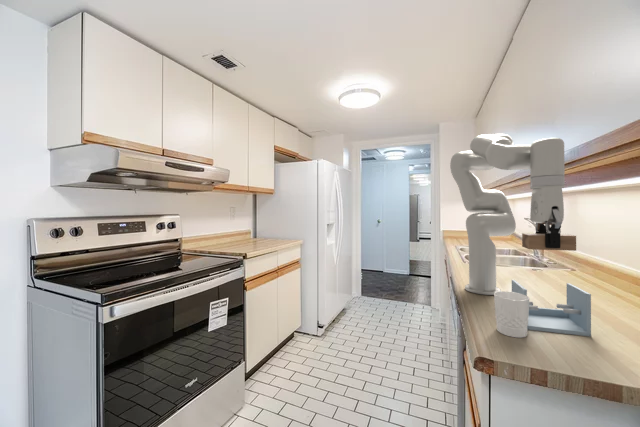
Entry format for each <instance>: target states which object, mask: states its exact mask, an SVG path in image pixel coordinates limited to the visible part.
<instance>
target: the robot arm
mask: <svg viewBox="0 0 640 427" xmlns="http://www.w3.org/2000/svg"><path fill="white" fill-rule="evenodd" d="M469 148H470V150H463V151H459V152H456V153H454V154H453V155H452V156H451V158H450V163H449V164H450V173H451V176H452V177H453V180H454V181H455V183H456V185H457V186H458V190H459V193H460V197H461V200H462V203H463V206H464V208H465V210H466V211H467V212H469V213H472V214H470V215H468V217H466V220H465V228H466V233H467V239H468V282H469V283H467V284H465V286H464V289H465V290H466V291H467V292H471V293H473V294H477V295H484V296H485V295H486V296H494V293H495V292H499V291H502V290H501V288H499V287H498V286H497V247H496V245H495V243H494V242H493V240H492V239H491V237H506V236H511V235H513V234H514V232H515V230H516V227H517V226H516V219H515V216H514V214H513V210H512V209H511V207H510V203H509V201H508V199H507V196H506V195H505V194H504V192H502V191H501V190H497V189H484V188H483V187H482V183H481V180H480V179H479V178H478V177H477V176H476V175H475V174H474V173H473V172H471V171H490V170H492V169H494V168H496V169H499V170H504V171H509V170H510V171H512V170H513V171H516V170H517V171H518V170H520V171H521V170H524V171H525V170H528V171H529V170H530V172H529V173H530V174H529V176H530V178H529V181H530V190H532V191H531V198H530V214H529V218H530V221H531V222H532V223H535V234H545V247H546V248H560V234H562V231H561V230H562V229H561V228H562V224H563V221H564V218H565V217H564V216H565V208H564V194H563V188H566V186H565V184H566V183H565V180H566V179H565V175H566V174H565V173H566V172H565V170H566V169H565V141H564V140H563V139H562V138H560V137H549V138H548V137H547V138H542V139H538V140H535V141H533V142H532V143H531V144H515V145H514V140H513V138H512V137H511V136H510V135H509V134H505V133H495V134H494V133H492V134H491V133H488V134H486V133H485V134H480V135H477V136H476V137H475V136H474V138H473V139H472V140H471V141H470V144H469Z"/></svg>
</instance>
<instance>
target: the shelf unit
mask: <svg viewBox="0 0 640 427" xmlns="http://www.w3.org/2000/svg"><path fill="white" fill-rule="evenodd" d="M511 292H515V293H520V294H523V295H526V296H528V289H527V288H525V286H523V285H522V284H520V283H519V282H518V281H517V280H515V279H511ZM527 330H528V331H529V330H531V331H538V332H547V333H557V334H566V335H574V336H583V337H592V294H591V293H589V292H588V291H585V290H583V289H582V288H580V287H578V286H576V285H574V284H572V283H569V282H566V304H565V303H564V304H563V303H556V308H548V307H538V305H534V302H533V301H531V300H529V318H528V326H527Z"/></svg>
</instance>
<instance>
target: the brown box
mask: <svg viewBox="0 0 640 427" xmlns="http://www.w3.org/2000/svg"><path fill="white" fill-rule="evenodd" d="M521 236H522V237H521V239H522V241H521V242H522V243H521V244H522V248H525V249H527V250H538V251H539V250H543V251H573V252H576V251H577V235H573V234H569V233H560V248H546V247H545V234H536V233H533V232H532V233H531V232H530V233H529V232H528V233H527V232H526V233H523V232H522V233H521Z"/></svg>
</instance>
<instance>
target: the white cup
mask: <svg viewBox="0 0 640 427" xmlns="http://www.w3.org/2000/svg"><path fill="white" fill-rule="evenodd" d="M493 297H494V298H493V300H494V302H493V303H494V315H495V321H496V322H495V323H496V330H497V332H499V333H500V334H502V335H504V336H506V337H507V336H508V337H510V338H511V337H512V338H517V339H518V338H519V339H520V338H526V337H527V336H528V329H527V326H528V318H529V301H530V299H531V298H530V297H529V296H528V295H527V296H526V295H523V294H520V293H515V292H512V291H508V290H506V291H503V290H501V291H499V292H495V293H494V295H493Z"/></svg>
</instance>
